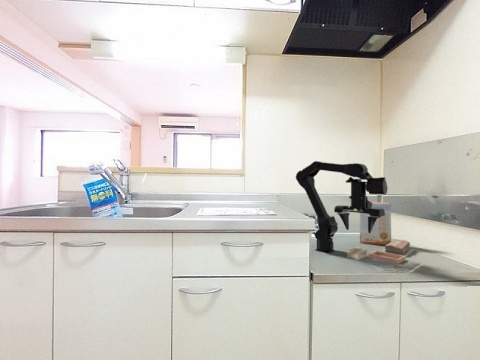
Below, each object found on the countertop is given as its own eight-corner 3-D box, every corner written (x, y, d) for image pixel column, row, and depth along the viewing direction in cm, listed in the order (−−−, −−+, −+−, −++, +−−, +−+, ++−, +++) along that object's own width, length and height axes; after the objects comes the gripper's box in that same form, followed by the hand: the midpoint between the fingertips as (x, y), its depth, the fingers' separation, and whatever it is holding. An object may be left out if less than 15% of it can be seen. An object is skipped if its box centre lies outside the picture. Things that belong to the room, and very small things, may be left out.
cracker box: (391, 243, 134) (391, 202, 134) (390, 246, 129) (390, 203, 129) (361, 240, 141) (361, 201, 141) (359, 242, 136) (359, 202, 136)
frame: (368, 257, 109) (368, 253, 109) (376, 254, 114) (376, 250, 114) (398, 263, 101) (398, 259, 101) (405, 259, 106) (405, 256, 106)
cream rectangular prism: (347, 257, 109) (347, 250, 109) (356, 254, 114) (356, 247, 114) (358, 260, 105) (358, 252, 105) (366, 256, 111) (366, 249, 111)
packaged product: (390, 237, 128) (414, 240, 121) (390, 247, 128) (414, 251, 121) (378, 244, 115) (405, 248, 108) (378, 255, 115) (405, 260, 108)
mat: (343, 258, 109) (343, 257, 109) (360, 251, 119) (360, 250, 119) (391, 269, 96) (391, 267, 96) (405, 260, 106) (405, 259, 106)
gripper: (390, 194, 108) (390, 232, 108) (346, 192, 122) (346, 226, 122) (379, 195, 101) (378, 236, 101) (333, 193, 115) (333, 229, 115)
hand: (358, 231), depth 110 cm, fingers open, 9 cm apart
